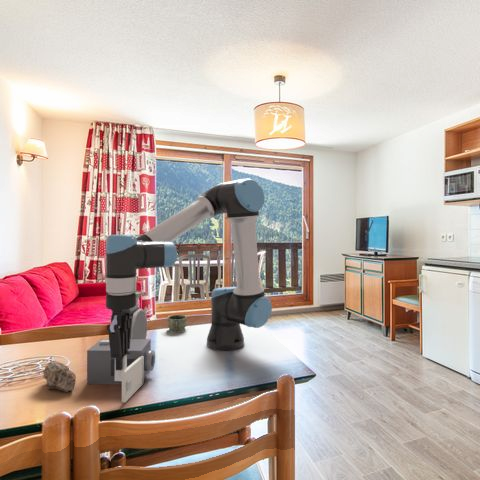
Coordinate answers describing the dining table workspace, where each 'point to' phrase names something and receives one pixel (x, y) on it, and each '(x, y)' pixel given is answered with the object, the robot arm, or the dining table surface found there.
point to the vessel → (177, 323)
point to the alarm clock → (138, 323)
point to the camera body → (104, 365)
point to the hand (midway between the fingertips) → (120, 379)
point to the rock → (59, 377)
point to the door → (132, 378)
